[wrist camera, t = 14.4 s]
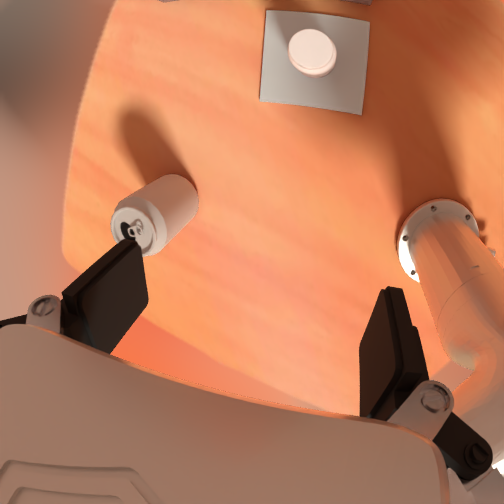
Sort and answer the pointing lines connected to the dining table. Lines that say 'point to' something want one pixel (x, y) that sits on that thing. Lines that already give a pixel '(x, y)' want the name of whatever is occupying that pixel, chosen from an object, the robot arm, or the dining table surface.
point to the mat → (306, 88)
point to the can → (155, 213)
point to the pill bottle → (312, 53)
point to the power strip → (362, 0)
